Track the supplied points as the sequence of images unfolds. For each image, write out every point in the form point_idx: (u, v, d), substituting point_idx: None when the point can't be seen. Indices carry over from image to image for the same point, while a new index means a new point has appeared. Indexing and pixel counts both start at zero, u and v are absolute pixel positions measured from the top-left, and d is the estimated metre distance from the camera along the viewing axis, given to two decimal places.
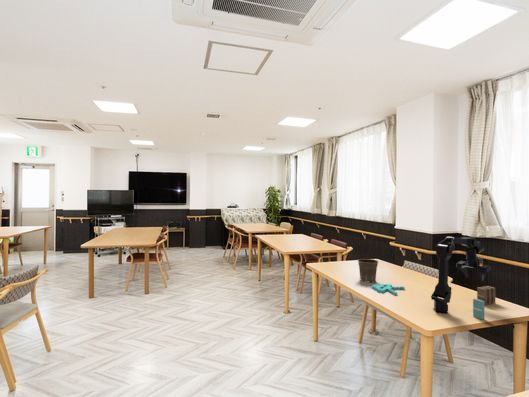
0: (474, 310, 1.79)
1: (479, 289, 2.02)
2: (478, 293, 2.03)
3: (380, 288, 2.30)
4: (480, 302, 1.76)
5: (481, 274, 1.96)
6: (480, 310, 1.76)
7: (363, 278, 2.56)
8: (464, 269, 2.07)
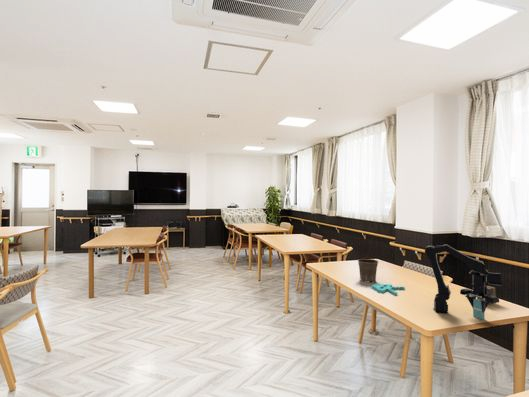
0: (474, 310, 1.79)
1: None
2: None
3: (380, 288, 2.30)
4: (480, 302, 1.76)
5: (483, 303, 1.73)
6: (480, 310, 1.76)
7: (363, 278, 2.56)
8: (471, 298, 1.81)
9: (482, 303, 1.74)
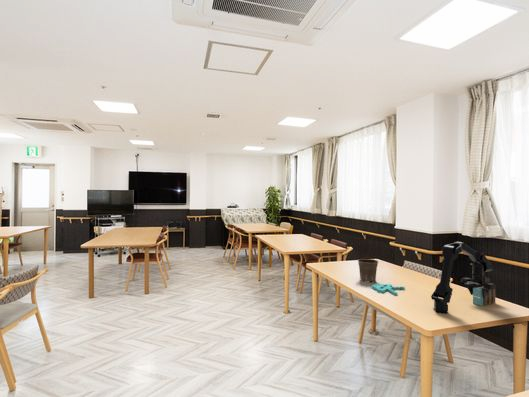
0: (474, 298, 2.02)
1: None
2: None
3: (380, 288, 2.30)
4: (479, 290, 1.98)
5: (483, 290, 1.94)
6: (479, 297, 1.98)
7: (363, 278, 2.56)
8: (470, 285, 2.04)
9: (483, 290, 1.95)
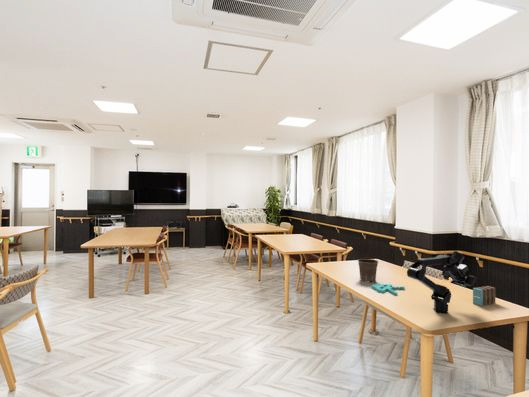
0: (474, 298, 2.02)
1: None
2: None
3: (380, 288, 2.30)
4: (479, 290, 1.98)
5: (462, 284, 1.93)
6: (479, 297, 1.98)
7: (363, 278, 2.56)
8: (459, 281, 1.95)
9: (461, 284, 1.93)
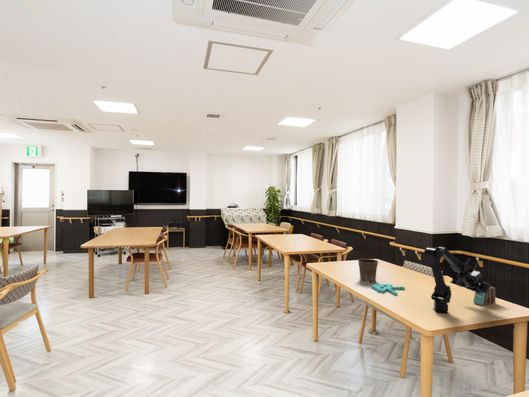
0: (475, 297, 2.02)
1: None
2: None
3: (380, 288, 2.30)
4: None
5: (475, 291, 1.97)
6: (481, 297, 1.99)
7: (363, 278, 2.56)
8: (472, 288, 1.99)
9: (475, 291, 1.97)
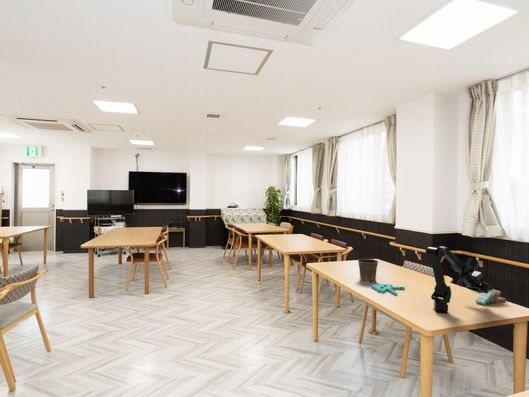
0: (479, 297, 2.04)
1: (489, 291, 2.06)
2: None
3: (380, 288, 2.30)
4: (490, 293, 2.02)
5: (476, 291, 1.97)
6: (486, 297, 2.01)
7: (363, 278, 2.56)
8: (473, 288, 2.00)
9: (475, 291, 1.98)
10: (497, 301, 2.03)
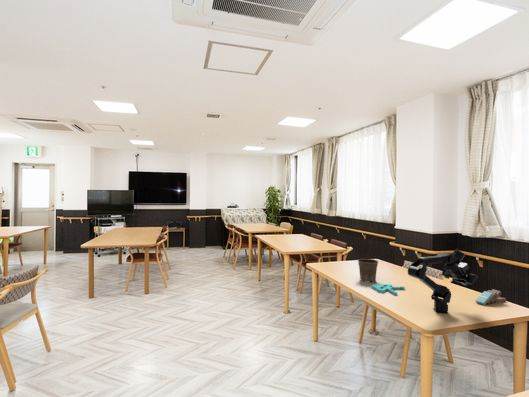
0: (479, 297, 2.04)
1: (489, 291, 2.06)
2: None
3: (380, 288, 2.30)
4: (490, 293, 2.02)
5: (462, 283, 1.93)
6: (486, 297, 2.01)
7: (363, 278, 2.56)
8: (459, 280, 1.95)
9: (462, 283, 1.93)
10: (497, 301, 2.03)
